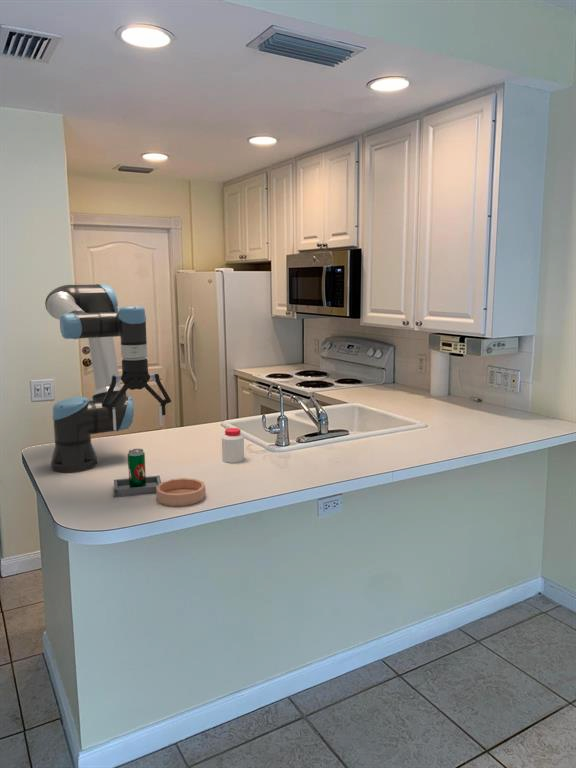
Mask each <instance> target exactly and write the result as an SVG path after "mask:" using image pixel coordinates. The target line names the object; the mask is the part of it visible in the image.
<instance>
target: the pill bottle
mask: <svg viewBox="0 0 576 768" xmlns="http://www.w3.org/2000/svg"><path fill="white" fill-rule="evenodd" d="M221 453H222V454H221V458H222V459H221V460H222V462H224V463H227V462H229V464H236V462H238V463H241V462H243V461H245V436H244V435H243V434H242V433H241V429H240V428H238V427H229V428H225V429H224V434H223V435H222V437H221Z"/></svg>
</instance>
